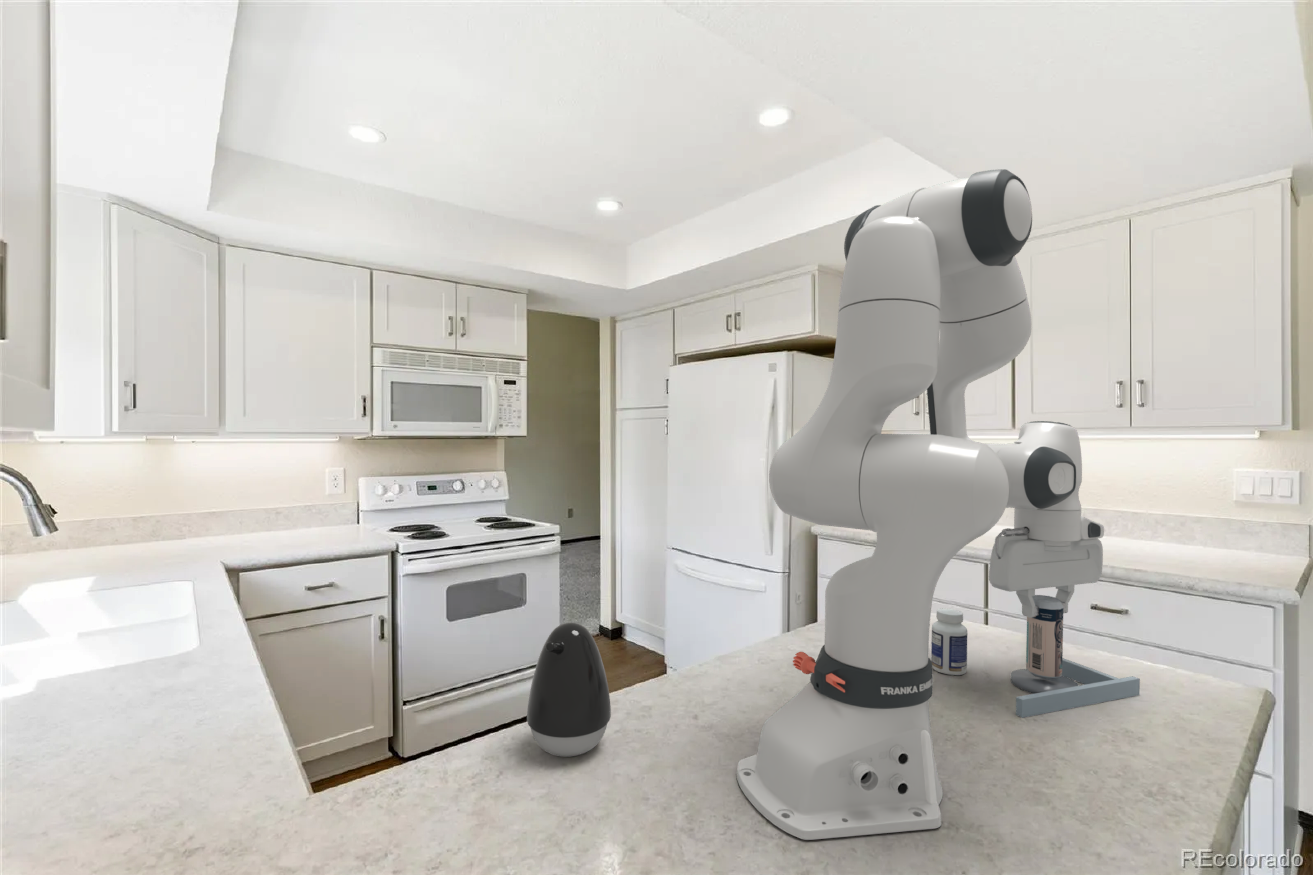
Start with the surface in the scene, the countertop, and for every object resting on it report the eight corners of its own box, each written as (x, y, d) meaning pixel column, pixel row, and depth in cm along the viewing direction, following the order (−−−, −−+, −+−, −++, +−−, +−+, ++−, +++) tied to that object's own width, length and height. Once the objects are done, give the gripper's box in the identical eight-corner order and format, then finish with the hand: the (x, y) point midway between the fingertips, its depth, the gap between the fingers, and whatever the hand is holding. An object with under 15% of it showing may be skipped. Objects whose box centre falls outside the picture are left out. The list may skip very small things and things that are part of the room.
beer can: (1067, 682, 94) (1069, 603, 94) (1032, 679, 95) (1034, 601, 95) (1054, 670, 99) (1055, 595, 99) (1021, 667, 100) (1022, 593, 100)
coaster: (1049, 702, 91) (1049, 695, 91) (997, 678, 100) (997, 672, 100) (1092, 694, 94) (1093, 687, 94) (1038, 672, 103) (1038, 666, 103)
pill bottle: (968, 668, 104) (969, 610, 104) (964, 678, 100) (965, 618, 100) (933, 661, 107) (934, 605, 107) (928, 671, 103) (929, 612, 103)
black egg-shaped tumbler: (509, 759, 74) (510, 630, 73) (552, 721, 83) (554, 607, 83) (586, 776, 70) (588, 642, 70) (623, 734, 80) (624, 616, 80)
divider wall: (1022, 717, 86) (1022, 699, 86) (943, 679, 99) (944, 663, 99) (1139, 695, 94) (1139, 678, 94) (1052, 662, 107) (1052, 648, 107)
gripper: (1015, 532, 90) (1013, 627, 91) (1112, 526, 97) (1110, 614, 98) (979, 525, 96) (977, 614, 97) (1073, 520, 103) (1071, 603, 104)
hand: (1045, 614), depth 97 cm, fingers closed on beer can, 5 cm apart
